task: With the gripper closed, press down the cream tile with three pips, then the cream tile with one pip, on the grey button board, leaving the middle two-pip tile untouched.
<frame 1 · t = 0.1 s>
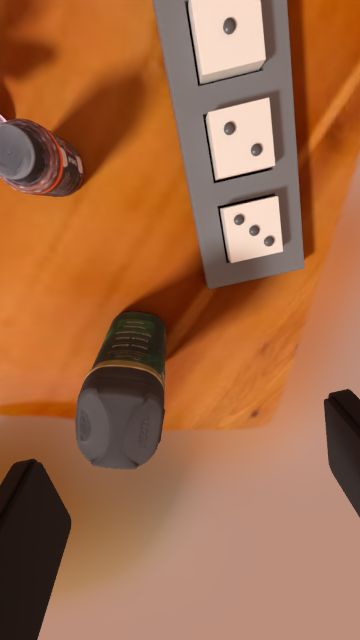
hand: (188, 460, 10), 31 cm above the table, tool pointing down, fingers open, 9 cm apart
tile 2: (240, 141, 31), point 3 cm above the table, slide at 0.0 cm
supplement bottle: (59, 169, 34), on the table
tile 3: (251, 230, 34), point 3 cm above the table, slide at 0.0 cm
tile 1: (226, 33, 28), point 3 cm above the table, slide at 0.0 cm
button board: (234, 147, 34), on the table
coffee jar: (137, 341, 42), on the table
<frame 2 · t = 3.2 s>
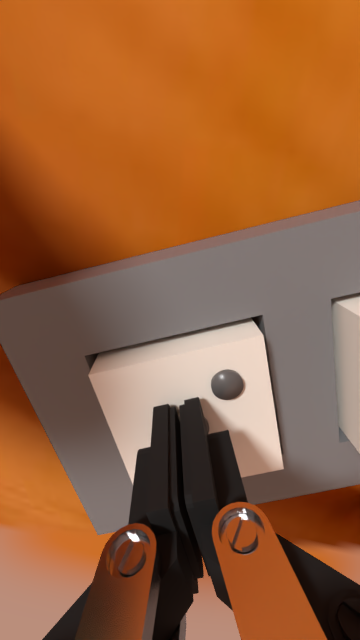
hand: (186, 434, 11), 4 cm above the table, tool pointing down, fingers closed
tile 3: (191, 407, 12), point 2 cm above the table, slide at 0.7 cm, touching gripper
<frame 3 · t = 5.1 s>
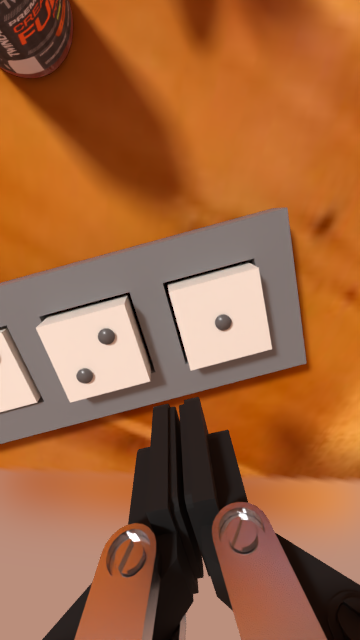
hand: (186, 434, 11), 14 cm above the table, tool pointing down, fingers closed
tile 2: (98, 349, 22), point 3 cm above the table, slide at 0.0 cm
supplement bottle: (26, 23, 18), on the table
tile 1: (219, 316, 21), point 3 cm above the table, slide at 0.0 cm
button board: (105, 333, 24), on the table
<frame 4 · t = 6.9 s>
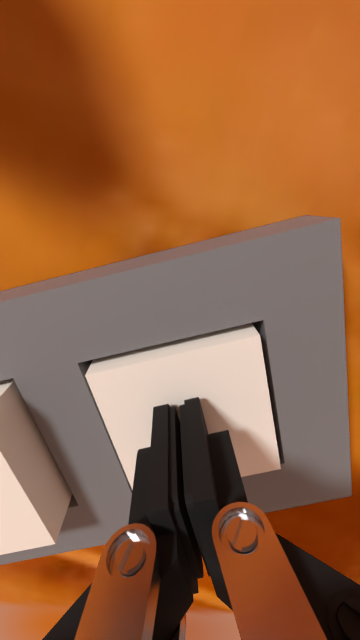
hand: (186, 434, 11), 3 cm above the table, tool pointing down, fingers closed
tile 1: (189, 407, 12), point 2 cm above the table, slide at 1.2 cm, touching gripper
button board: (3, 422, 14), on the table
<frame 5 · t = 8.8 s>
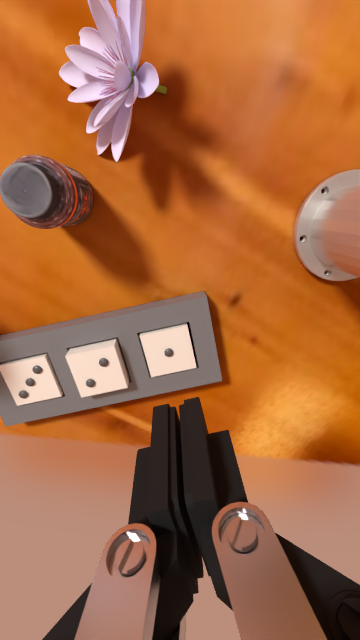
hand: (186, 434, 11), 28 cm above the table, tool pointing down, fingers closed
tile 2: (99, 367, 38), point 3 cm above the table, slide at 0.0 cm
supplement bottle: (68, 197, 34), on the table
tile 3: (34, 377, 39), point 2 cm above the table, slide at 1.3 cm
water lily: (115, 87, 30), on the table
tile 1: (168, 348, 39), point 2 cm above the table, slide at 1.3 cm
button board: (103, 356, 41), on the table
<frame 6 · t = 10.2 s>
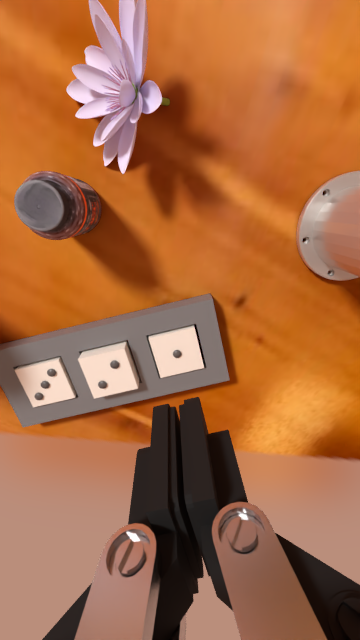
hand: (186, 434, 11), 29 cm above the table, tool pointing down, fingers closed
tile 2: (110, 369, 39), point 3 cm above the table, slide at 0.0 cm
supplement bottle: (77, 207, 35), on the table
tile 3: (48, 379, 41), point 2 cm above the table, slide at 1.3 cm
water lily: (120, 101, 32), on the table
tile 1: (176, 349, 40), point 2 cm above the table, slide at 1.3 cm
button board: (114, 358, 42), on the table
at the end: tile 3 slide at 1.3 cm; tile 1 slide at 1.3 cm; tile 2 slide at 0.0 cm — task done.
